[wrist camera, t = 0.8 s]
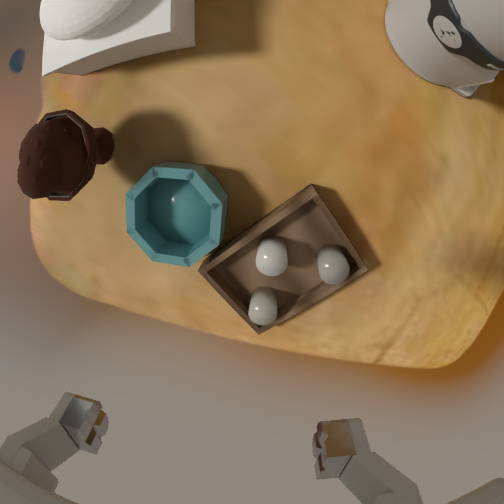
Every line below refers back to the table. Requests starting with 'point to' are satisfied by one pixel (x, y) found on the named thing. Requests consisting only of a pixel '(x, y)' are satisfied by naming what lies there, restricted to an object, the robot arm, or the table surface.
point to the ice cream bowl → (61, 156)
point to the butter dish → (111, 32)
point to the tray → (298, 254)
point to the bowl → (177, 213)
